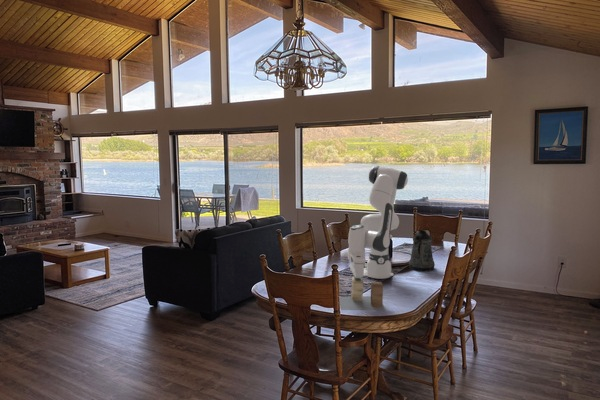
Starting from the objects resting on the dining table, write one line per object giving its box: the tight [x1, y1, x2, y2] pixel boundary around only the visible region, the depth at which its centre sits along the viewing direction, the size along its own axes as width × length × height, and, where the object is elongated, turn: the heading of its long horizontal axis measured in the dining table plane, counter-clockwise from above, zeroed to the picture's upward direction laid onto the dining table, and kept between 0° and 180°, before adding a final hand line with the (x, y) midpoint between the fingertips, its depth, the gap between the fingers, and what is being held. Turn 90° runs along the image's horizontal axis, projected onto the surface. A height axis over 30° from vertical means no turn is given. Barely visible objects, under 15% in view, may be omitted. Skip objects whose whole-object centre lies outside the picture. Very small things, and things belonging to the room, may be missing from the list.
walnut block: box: [370, 281, 384, 307], centre depth 218 cm, size 5×5×11 cm
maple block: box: [350, 276, 364, 301], centre depth 226 cm, size 5×5×11 cm
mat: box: [339, 295, 387, 311], centre depth 222 cm, size 19×22×1 cm
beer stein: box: [408, 230, 435, 272], centre depth 286 cm, size 16×19×25 cm
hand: (355, 282), depth 229 cm, fingers closed
